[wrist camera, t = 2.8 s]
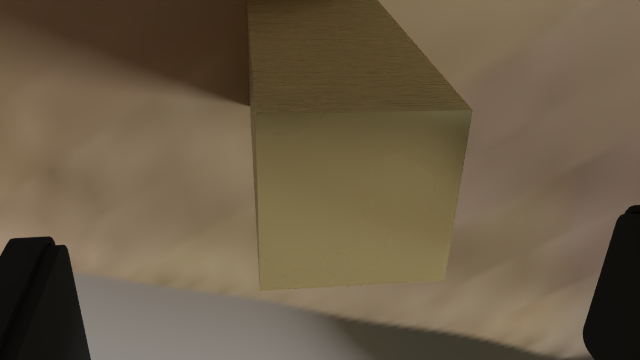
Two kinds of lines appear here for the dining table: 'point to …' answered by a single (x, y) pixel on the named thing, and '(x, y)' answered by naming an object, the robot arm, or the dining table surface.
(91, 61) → the dining table surface
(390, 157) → the peg
